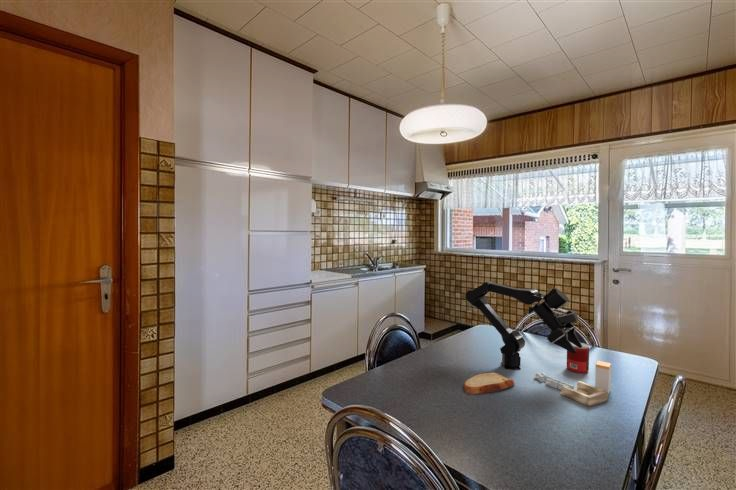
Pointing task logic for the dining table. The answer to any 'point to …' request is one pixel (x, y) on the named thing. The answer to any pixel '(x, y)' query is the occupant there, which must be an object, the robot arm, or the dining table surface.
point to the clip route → (552, 381)
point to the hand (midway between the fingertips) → (578, 350)
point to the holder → (585, 394)
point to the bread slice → (487, 383)
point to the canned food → (578, 359)
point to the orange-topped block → (603, 376)
